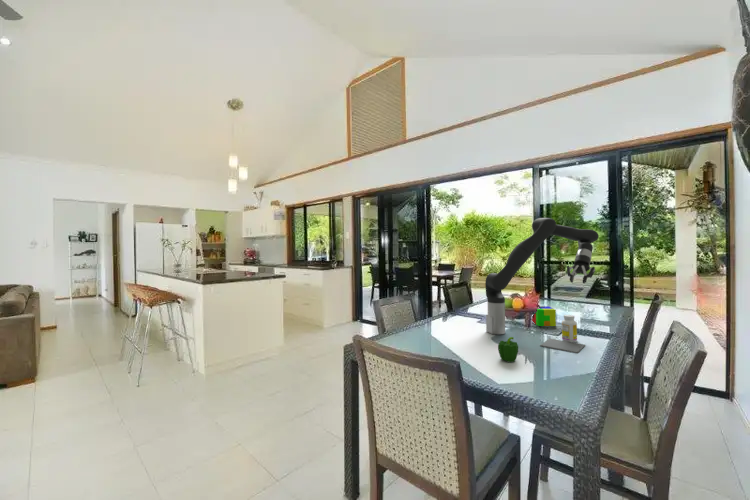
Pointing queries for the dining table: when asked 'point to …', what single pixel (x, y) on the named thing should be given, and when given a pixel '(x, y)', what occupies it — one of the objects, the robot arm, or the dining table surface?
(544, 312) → the puzzle toy
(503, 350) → the bell pepper
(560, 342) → the mat
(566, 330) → the supplement bottle
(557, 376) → the dining table surface
